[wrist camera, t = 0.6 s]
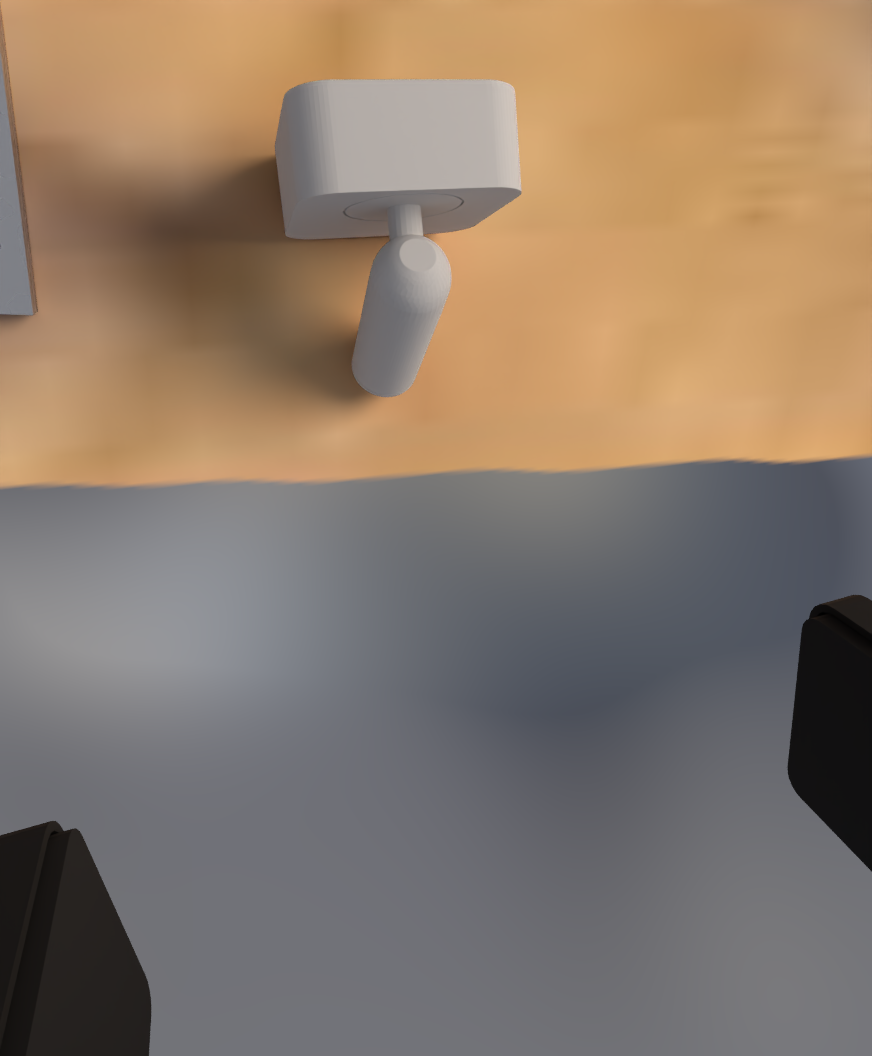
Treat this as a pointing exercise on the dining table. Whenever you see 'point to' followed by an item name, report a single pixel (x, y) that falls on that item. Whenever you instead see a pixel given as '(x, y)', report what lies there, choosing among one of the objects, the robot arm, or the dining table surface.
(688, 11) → the dining table surface
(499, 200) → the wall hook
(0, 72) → the keeper
